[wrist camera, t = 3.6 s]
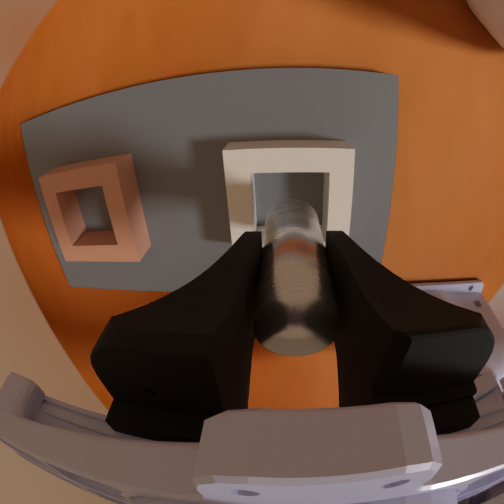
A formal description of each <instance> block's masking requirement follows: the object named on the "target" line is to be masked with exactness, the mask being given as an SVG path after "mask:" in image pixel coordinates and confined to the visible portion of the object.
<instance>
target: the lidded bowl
mask: <svg viewBox="0 0 504 504" xmlns="http://www.w3.org/2000/svg"><path fill="white" fill-rule="evenodd" d="M466 2H467V4H468V6H469V7H470V9H471V11H472V12H473V14H474V15H475V16H476V18H477V19H478V20H479V22H480V23H481V24H482V25H483V26H484V27H485V29H487V31H488V32H489V33H490V34H491V36H492V37H493V38H494V39H495V40H496V42H497V43H498V44H499V45H500V46H501V47H502V48H503V49H504V0H466Z"/></svg>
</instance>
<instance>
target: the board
mask: <svg viewBox="0 0 504 504" xmlns="http://www.w3.org/2000/svg"><path fill="white" fill-rule="evenodd" d="M397 124H398V75H392V74H385V73H377V72H368V71H357V70H345V69H327V68H265V69H247V70H234V71H223V72H214V73H206V74H198V75H191V76H185V77H179V78H173V79H167V80H162V81H157V82H152V83H147V84H142V85H138V86H134V87H129V88H125V89H121V90H117V91H114V92H110V93H106V94H103V95H99V96H96V97H92V98H89V99H86V100H83V101H80V102H77V103H74V104H71V105H68V106H65V107H62V108H59V109H57V110H54V111H51V112H49V113H46V114H43V115H41V116H38V117H36V118H34V119H31V120H29V121H26V122H24V123H22V124H20V125H21V131H22V136H23V141H24V146H25V151H26V156H27V160H28V164H29V168H30V172H31V176H32V180H33V184H34V188H35V191H36V195H37V198H38V201H39V205H40V208H41V211H42V214H43V217H44V220H45V223H46V226H47V229H48V232H49V235H50V238H51V240H52V243H53V246H54V248H55V251H56V254H57V256H58V259H59V261H60V264H61V266H62V268H63V271H64V273H65V276H66V278H67V280H68V282H69V285H70V287H84V288H99V289H117V290H137V291H161V292H174V291H175V290H177V289H179V288H180V287H182V286H184V285H186V284H187V283H189V282H190V281H192V280H193V279H195V278H196V277H198V276H199V275H200V274H202V273H203V272H204V271H206V270H207V269H208V268H209V267H210V266H212V265H213V264H214V263H215V262H216V261H217V260H218V259H219V258H220V257H221V256H222V255H223V254H224V253H225V252H226V251H227V250H228V249H229V248H230V247H231V246H232V240H231V231H230V221H229V212H228V202H227V193H226V183H225V173H224V163H223V152H222V150H223V149H224V148H225V147H226V145H227V144H228V143H229V142H244V141H269V140H335V141H347V142H348V143H349V144H350V145H351V146H352V147H354V148H355V163H354V181H353V196H352V209H351V220H350V231H349V237H350V238H351V239H352V240H353V241H354V242H356V243H357V244H358V245H359V246H360V247H361V248H362V249H363V250H364V251H366V252H367V253H368V254H369V255H370V256H371V257H373V258H374V259H375V260H376V261H378V262H379V263H380V264H381V260H382V255H383V249H384V243H385V238H386V231H387V225H388V218H389V211H390V204H391V196H392V188H393V179H394V168H395V157H396V143H397ZM128 153H132V159H133V164H134V169H135V175H136V180H137V185H138V190H139V194H140V199H141V204H142V208H143V213H144V217H145V221H146V226H147V230H148V234H149V238H150V242H151V246H150V247H149V249H148V250H147V252H146V253H145V255H144V256H143V258H142V259H141V261H140V262H95V261H66V260H65V258H64V255H63V253H62V250H61V247H60V245H59V242H58V239H57V236H56V234H55V231H54V228H53V225H52V222H51V219H50V216H49V212H48V209H47V206H46V203H45V199H44V196H43V192H42V189H41V185H40V181H39V177H41V176H42V175H44V174H46V173H47V172H49V171H51V170H53V169H55V168H56V167H61V166H65V165H69V164H74V163H79V162H84V161H89V160H94V159H99V158H104V157H110V156H116V155H122V154H128ZM254 185H255V201H256V217H257V226H265V221H266V216H267V213H268V211H269V210H270V209H271V207H272V206H273V205H275V204H276V203H278V202H279V201H282V200H285V199H300V200H303V201H305V202H307V203H308V204H310V205H311V206H312V207H313V208H314V210H315V211H316V213H317V216H318V220H319V224H320V225H322V215H323V187H324V172H282V173H254ZM75 192H76V196H77V200H78V203H79V207H80V210H81V214H82V217H83V220H84V224H85V227H86V230H87V232H88V231H107V230H113V226H112V223H111V219H110V215H109V211H108V208H107V204H106V200H105V196H104V192H103V188H102V186H96V187H89V188H83V189H76V190H75Z"/></svg>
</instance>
